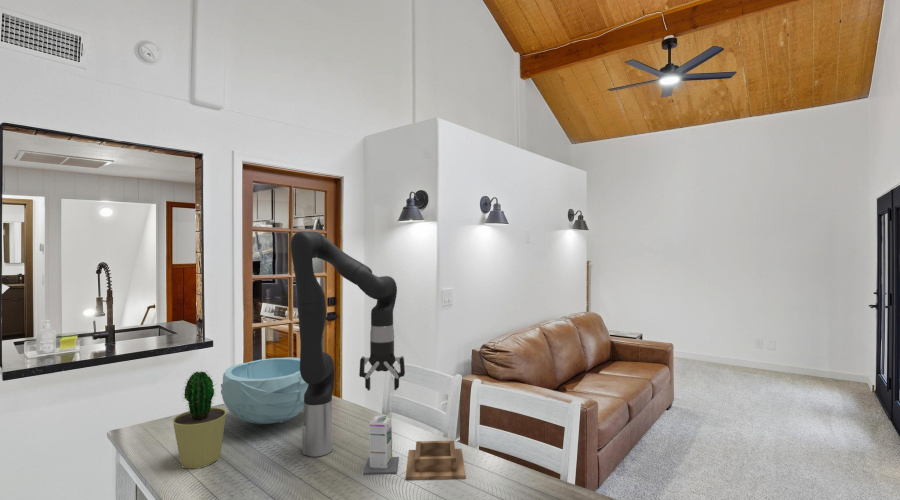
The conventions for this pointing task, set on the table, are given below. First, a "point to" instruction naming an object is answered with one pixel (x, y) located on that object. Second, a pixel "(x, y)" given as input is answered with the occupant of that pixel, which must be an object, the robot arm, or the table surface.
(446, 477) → the collar stand
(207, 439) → the potted cactus
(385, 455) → the syrup box
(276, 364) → the bowl
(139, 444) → the table surface
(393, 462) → the felt pad
